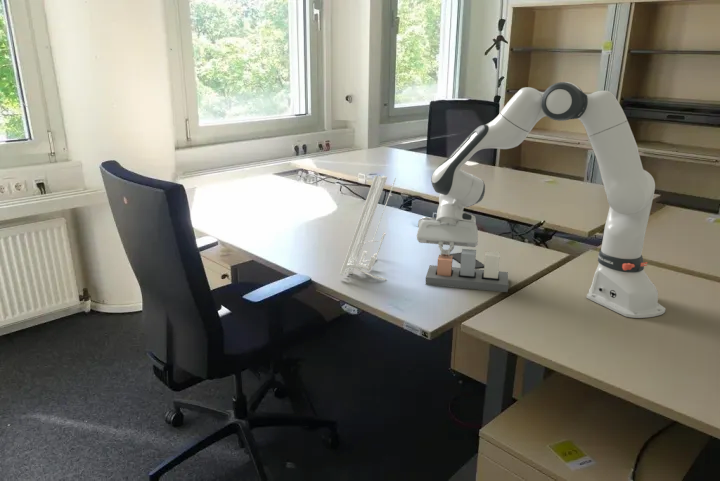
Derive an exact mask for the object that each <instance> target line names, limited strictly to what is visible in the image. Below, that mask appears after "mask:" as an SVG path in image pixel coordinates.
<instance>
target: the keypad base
mask: <svg viewBox="0 0 720 481" xmlns="http://www.w3.org/2000/svg"><path fill="white" fill-rule="evenodd" d="M428 266H429V267H428V270H427V273H426V276H425V285H428V286H438V287H449V288H460V289H470V290H481V291H491V292H501V293H508V292H509V273H508V271H501V270H500V271H499V273H498V279H497V278H486V277H484V269H480V268H477V269H475V273H474V276H464V275H460V268H461V267H456V266H455V267H454V266H452V276H442V275H437V265H433V264H431V265H428Z"/></svg>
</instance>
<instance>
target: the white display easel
mask: <svg viewBox="0 0 720 481" xmlns="http://www.w3.org/2000/svg"><path fill="white" fill-rule="evenodd" d="M387 179H388V176H385V175H378V176H377V175H374V176H373V179H372V182H371V185H370V188H369V191H368V194H367V197H366V200H365V201H364V202H365V203H364V205H363V207H362V211H361V214H360V216H359V218H358V222H357V224H356V227H355V231H354V234H353V236H352V239H351V242H350V243H349V244H350V245H349V247H348V250H347V253H346V256H345V259H344V262H343V264H342V266H341V269H340V272H339V275H340V276H344V275H346V274H347V275H353V273H354V270H357V271H359V272H361V273H363V274H366V275H368V276H369V277H370V278H373V279H378V280H382V281H387V278H385V277H379V276H376V275H374V274H371V273H370V271H371V270H372V267H374V265H375V264H376V261H378V259H377V257H378V255H379V252H380V250H381V246H382V244H383V241H384V238H385V236H386V234H387V233H386V232H385V231H384V232H382V236H381V238H380V240H375V238H376V234H377V231H378V228H379V226H380V222H381V221H382V218H383V215H384V212H385V210H386V207H387V204H388V201H389V199H390V197H393V195H392V190H393V189H394V188H393V187H394V185H395V182H396V179H397V178H396V177H395V178H394V180H393V183H392V186H391V188H390V190H389V193H388V197H387V199H386V201H385V202H386V203H385V205H384V207H383V211H382V213H381V216H380V220H379V221H378V224H377V227H376V230H375V232H374V236H373V238H372V240H366V237H367V234H368V232H369V229H370V226H371V223H372V220H373V217H374V216H375V212H376V209H377V207H378V204H379V202H380V199H381V195H382V194H383V191H384V187H385V184H386V182H387ZM375 242H379V247H378V248H377V251H376V253H374V254H373V256H372V255H370V259H366V260H365V258H366V255H367V253H368V251H366V250H363V251H362V248H363V245H366V243H375ZM361 251H362V255H361V257H360V260H359V256H360V254H361ZM358 260H359V261H358ZM357 262H358V264H357ZM365 262H369V263H365ZM363 269H365V270H366V271H365V270H363ZM367 271H368V272H367Z"/></svg>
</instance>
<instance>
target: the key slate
mask: <svg viewBox="0 0 720 481" xmlns="http://www.w3.org/2000/svg"><path fill="white" fill-rule="evenodd" d="M461 252H462V253H461ZM461 252H460V253H461V264H460V267H459V268H460V275H464V276H474V273H475V260H477V257H476V256H477V250H476V249H470V248H469V249H466V248H462V249H461Z"/></svg>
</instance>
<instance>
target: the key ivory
mask: <svg viewBox="0 0 720 481" xmlns="http://www.w3.org/2000/svg"><path fill="white" fill-rule="evenodd" d="M500 258H501V251H493V250H492V251H491V250H485V254H484V265H485V266H484V268H483V270H484V277H486V278H497V279H498V273H499V270H500V262H501V261H500V260H501V259H500Z"/></svg>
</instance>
